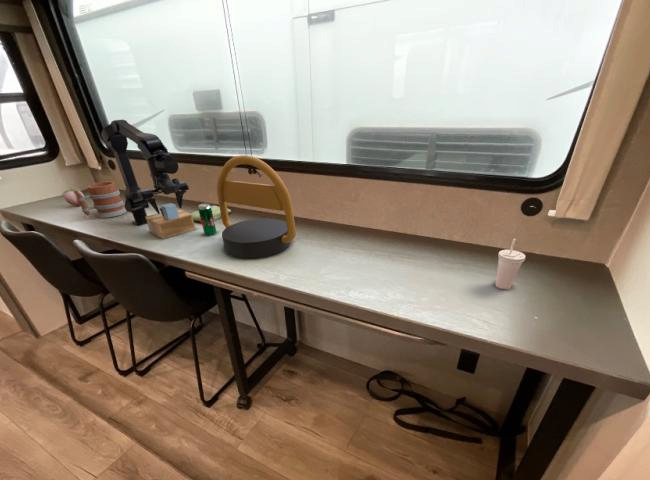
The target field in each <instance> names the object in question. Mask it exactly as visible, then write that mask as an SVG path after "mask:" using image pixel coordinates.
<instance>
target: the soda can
mask: <svg viewBox="0 0 650 480" xmlns="http://www.w3.org/2000/svg"><path fill="white" fill-rule="evenodd" d="M211 206H212V205H211V204H210V203H200V204H199V205H198V207H197V211H199V215H200V219H201V222H200V223H201V227H202V231H203V234H204V235H205V236H213V235H215V234H216V233H217V227H216V222H215V220H214V218H213V214H212V209H211Z"/></svg>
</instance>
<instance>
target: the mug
mask: <svg viewBox="0 0 650 480" xmlns="http://www.w3.org/2000/svg"><path fill="white" fill-rule="evenodd" d="M86 188H87V190H88V193H89V194H88V195H84V197H83V196H82V195H81V194H80V193H79V192H78V191H77V190H76V191H74V193H75V194H76V196H77V200H78V201H79V203H80V207H81V211H82V212H83V214H84V215H85V216H90V215H91V213H90V211H93V210H96V217H98V218H99V219H112V218H116V217H121V216H123V215H125V214H126V213H127V212H128V211H126V209H125V207H124V206H125V202H124V201H123V199H122V198H121V195H120V194H121V192H120V189H119V188H117V185H116V183H115V181H114V180H113V181H111V180H109V181H100V182H94V183H90V184H89V185H87V186H86ZM90 199H91V200H92V202H93V205H92V206H88V205H87V202H86V201H85V200H90Z"/></svg>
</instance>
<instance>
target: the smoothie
mask: <svg viewBox="0 0 650 480" xmlns="http://www.w3.org/2000/svg"><path fill="white" fill-rule="evenodd" d="M515 243H516V238H513V239H512V242H511V246H510V249H502V250H500V251H499V252H498V253H497V254H498V255H497V258H498V261H497V270H496V279H495V287H496V288H498V289H501V290H509V289H511V287H512V285H513V283H514V280H515V279H516V276H517V274H518V272H519V270H520V268H521V266H522V264H523V262H525V260H526V254H525V253H523V252H521V251H520V250H514V247H515Z"/></svg>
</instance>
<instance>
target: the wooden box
mask: <svg viewBox="0 0 650 480" xmlns="http://www.w3.org/2000/svg"><path fill="white" fill-rule="evenodd" d="M146 220H147V219H146ZM146 224H147V226H148V229H149V232H150V233H152V234H153V235H155V236H157V237H158V238H160V239H162V240H165V239H168V238H171V237H174V236H178V235H182V234H185V233H189V232H191V231H194V230H196V225H195V221H194V220H193V217H192V216H191V217H187V218H184V219H180V220H177V221H173V222H169V223H166V224H162V225H159V226H158V225H156V224H155V223H153V222H151V221H149V220H147V223H146Z"/></svg>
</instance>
